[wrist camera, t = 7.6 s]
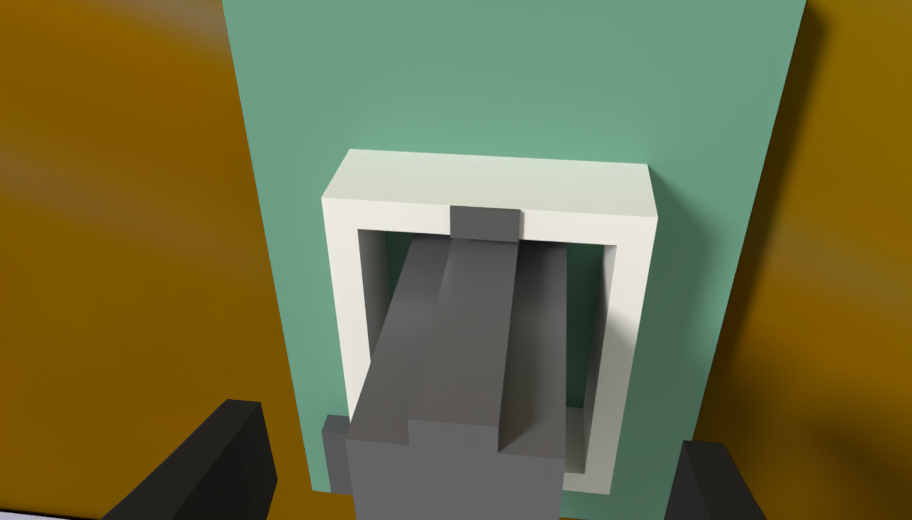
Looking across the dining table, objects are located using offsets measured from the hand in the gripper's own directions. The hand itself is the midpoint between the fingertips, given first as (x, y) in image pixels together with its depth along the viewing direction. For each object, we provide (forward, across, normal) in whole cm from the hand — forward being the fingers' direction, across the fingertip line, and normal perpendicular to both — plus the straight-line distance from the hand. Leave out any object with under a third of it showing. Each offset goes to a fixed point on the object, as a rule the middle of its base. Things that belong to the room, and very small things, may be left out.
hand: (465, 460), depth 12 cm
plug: (+4, 0, +1) cm, 4 cm away
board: (+5, 0, 0) cm, 5 cm away
